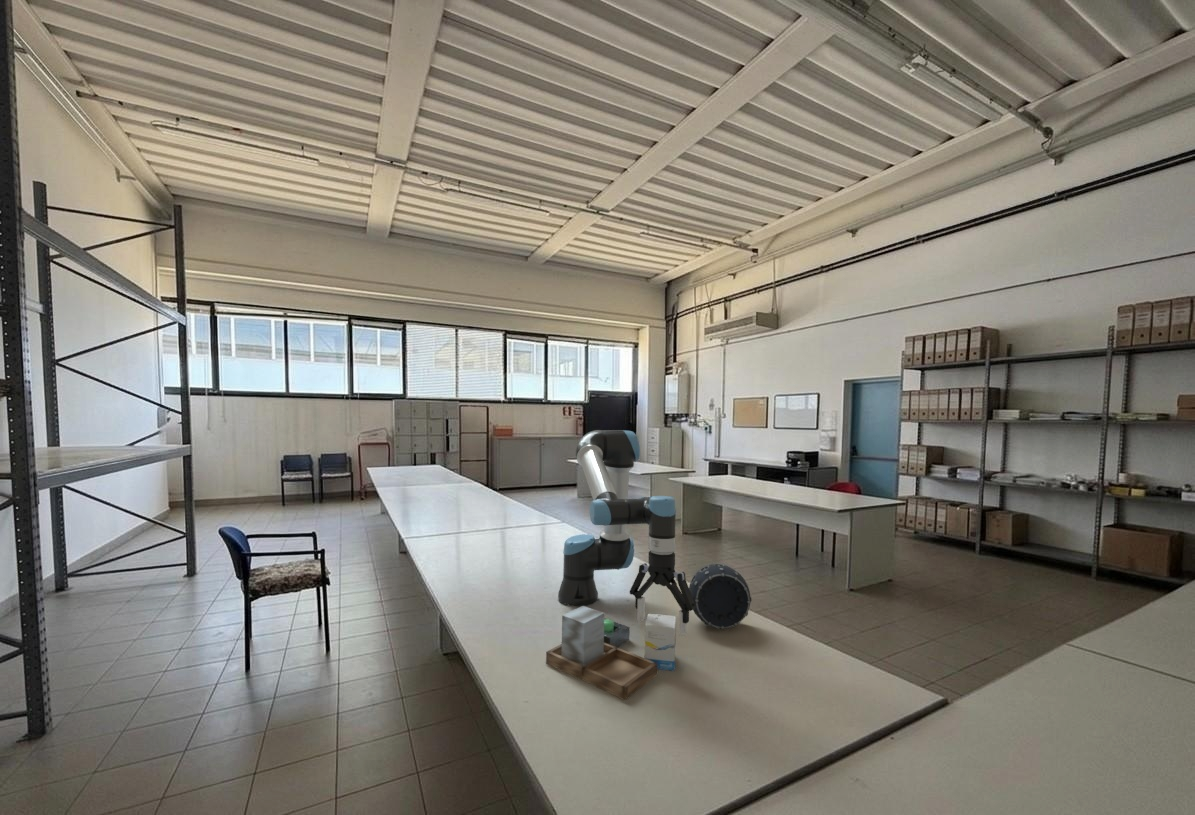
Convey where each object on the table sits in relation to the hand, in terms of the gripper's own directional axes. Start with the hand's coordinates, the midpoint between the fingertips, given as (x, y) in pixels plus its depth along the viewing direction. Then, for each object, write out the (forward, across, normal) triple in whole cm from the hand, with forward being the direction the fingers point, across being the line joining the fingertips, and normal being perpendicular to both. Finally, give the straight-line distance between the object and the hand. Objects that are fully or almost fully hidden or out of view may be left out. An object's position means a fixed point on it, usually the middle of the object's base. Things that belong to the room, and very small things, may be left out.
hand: (661, 627), depth 133 cm
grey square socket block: (+10, -19, 0) cm, 22 cm away
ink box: (+10, 0, 0) cm, 10 cm away
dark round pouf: (+10, +2, +34) cm, 35 cm away
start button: (+9, -19, 0) cm, 21 cm away
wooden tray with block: (+10, -11, -14) cm, 20 cm away
